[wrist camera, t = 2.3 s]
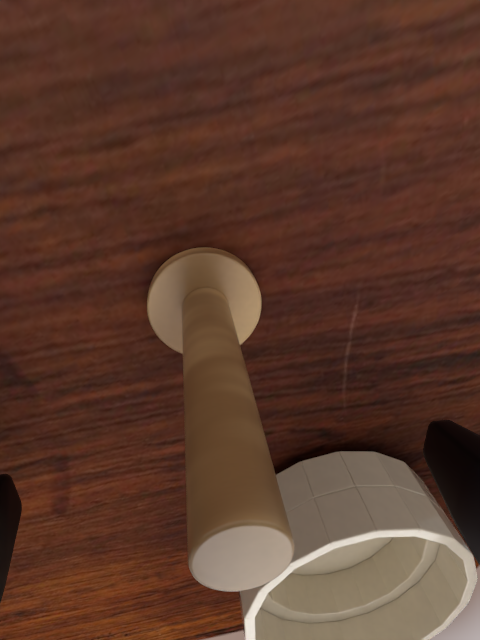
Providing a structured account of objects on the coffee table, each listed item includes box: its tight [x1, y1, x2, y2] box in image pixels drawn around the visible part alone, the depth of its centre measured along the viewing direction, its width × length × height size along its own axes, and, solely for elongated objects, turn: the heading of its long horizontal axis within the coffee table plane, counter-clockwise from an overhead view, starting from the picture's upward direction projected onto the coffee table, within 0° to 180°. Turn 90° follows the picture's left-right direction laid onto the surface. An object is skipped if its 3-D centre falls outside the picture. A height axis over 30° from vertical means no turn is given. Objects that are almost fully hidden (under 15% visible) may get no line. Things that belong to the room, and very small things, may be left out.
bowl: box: [239, 451, 478, 640], centre depth 21 cm, size 11×11×5 cm
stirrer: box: [147, 247, 295, 591], centre depth 12 cm, size 4×4×11 cm
